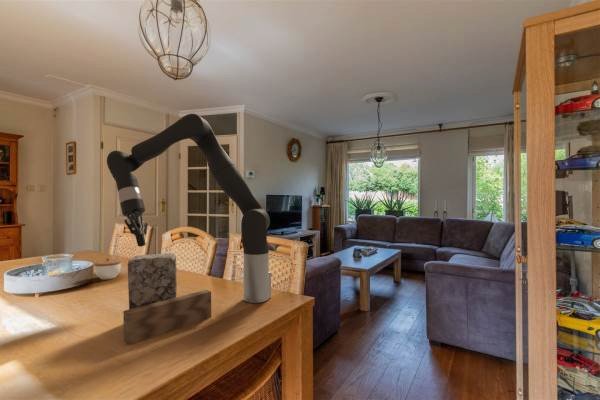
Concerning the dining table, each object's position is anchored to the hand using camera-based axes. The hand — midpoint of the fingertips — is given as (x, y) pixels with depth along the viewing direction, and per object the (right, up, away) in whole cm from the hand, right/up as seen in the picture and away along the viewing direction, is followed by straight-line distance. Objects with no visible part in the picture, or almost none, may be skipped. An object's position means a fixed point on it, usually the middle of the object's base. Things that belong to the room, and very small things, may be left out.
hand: (142, 245), depth 107 cm
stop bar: (+20, -21, -21) cm, 35 cm away
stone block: (+12, -21, -15) cm, 28 cm away
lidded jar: (-34, -21, +34) cm, 52 cm away
